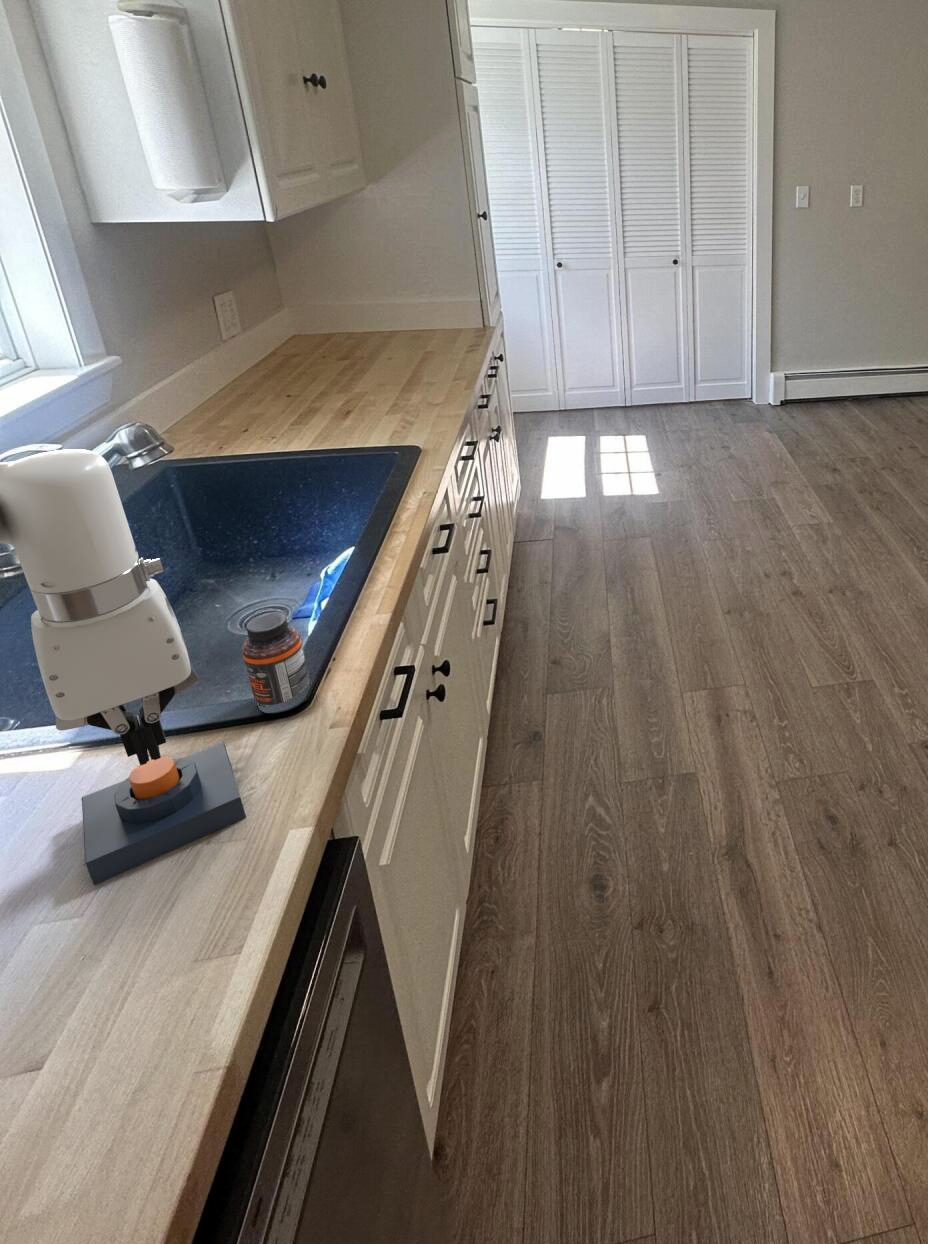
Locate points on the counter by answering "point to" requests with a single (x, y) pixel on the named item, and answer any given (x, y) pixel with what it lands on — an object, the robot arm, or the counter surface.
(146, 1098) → the counter surface
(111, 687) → the robot arm
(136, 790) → the push button
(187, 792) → the button box
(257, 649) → the supplement bottle
